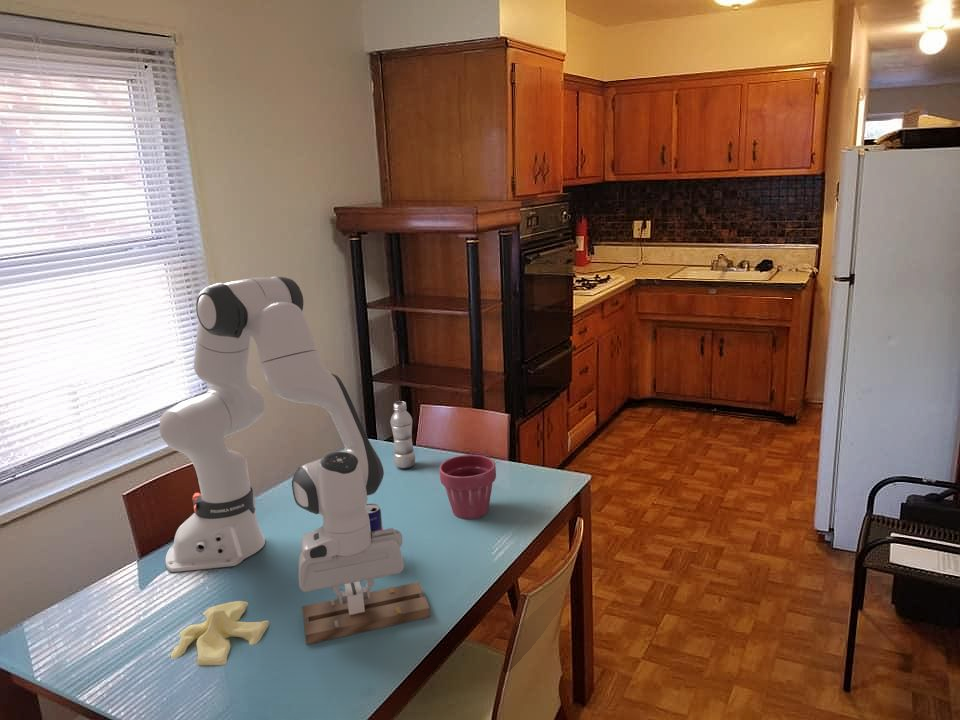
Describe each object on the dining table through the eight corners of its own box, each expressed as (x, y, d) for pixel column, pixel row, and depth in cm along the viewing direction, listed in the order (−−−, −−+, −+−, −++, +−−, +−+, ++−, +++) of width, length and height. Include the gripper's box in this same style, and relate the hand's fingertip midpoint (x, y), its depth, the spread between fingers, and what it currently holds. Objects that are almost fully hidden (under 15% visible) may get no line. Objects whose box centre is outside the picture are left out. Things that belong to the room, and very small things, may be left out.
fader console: (306, 644, 137) (304, 634, 136) (303, 615, 146) (301, 605, 146) (430, 616, 143) (429, 606, 143) (419, 590, 153) (418, 580, 152)
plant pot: (465, 530, 177) (462, 481, 174) (431, 511, 188) (428, 465, 184) (509, 510, 186) (506, 464, 182) (474, 494, 196) (472, 450, 193)
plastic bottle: (404, 460, 222) (399, 398, 217) (420, 465, 218) (415, 401, 213) (389, 467, 217) (383, 404, 212) (405, 472, 213) (399, 408, 208)
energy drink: (380, 562, 164) (375, 514, 161) (358, 561, 165) (353, 513, 162) (388, 550, 169) (383, 503, 166) (366, 549, 171) (361, 502, 167)
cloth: (232, 597, 155) (228, 571, 153) (290, 624, 144) (286, 597, 143) (133, 655, 137) (127, 626, 136) (190, 691, 127) (185, 660, 125)
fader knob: (350, 622, 141) (347, 596, 140) (347, 608, 146) (344, 583, 144) (365, 618, 142) (362, 593, 141) (362, 605, 147) (359, 579, 145)
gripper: (398, 519, 145) (403, 580, 149) (293, 538, 140) (301, 601, 143) (404, 533, 139) (409, 597, 143) (294, 554, 134) (303, 619, 138)
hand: (354, 599), depth 143 cm, fingers closed on fader knob, 3 cm apart
